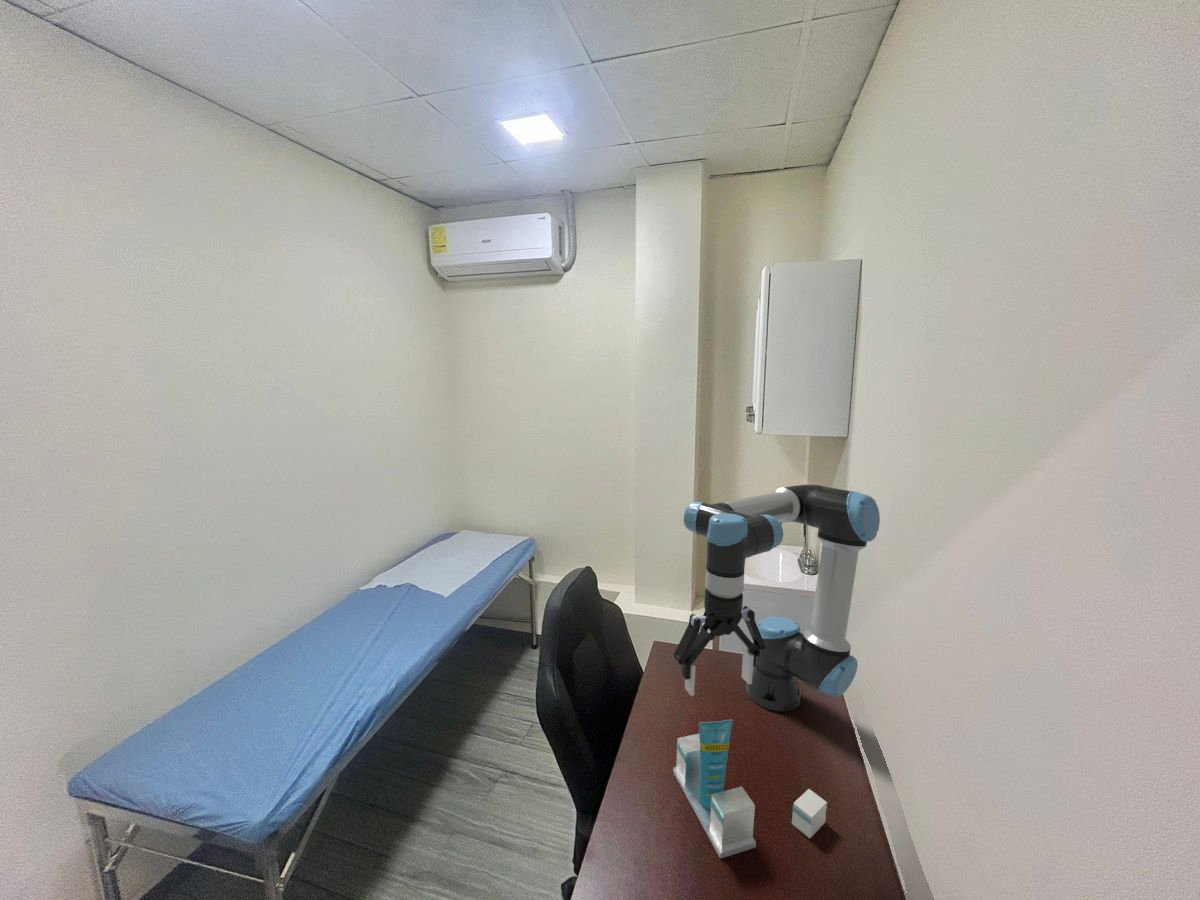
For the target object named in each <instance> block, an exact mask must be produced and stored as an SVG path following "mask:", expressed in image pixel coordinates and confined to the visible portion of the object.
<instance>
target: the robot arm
mask: <svg viewBox="0 0 1200 900" xmlns="http://www.w3.org/2000/svg"><path fill="white" fill-rule="evenodd" d="M880 517H881V516H880V510H879V506H878V504H877V502H876V500H875V499H874V497H872V496H870V495H868V494H865V493H861V492H857V491H854V490H848V489H841V488H835V487H828V486H824V485H819V484H797V485H791V486H790V485H789V486H786V487H784V486H783V487H779V488H776V489H774V490H772V492H771V493H768V494H767V493H766V494H760V495H755V496H751V497H750V496H749V497H745V498H739V499H733V500H729V501H724V502H717V503H712V504H710V503H706V502H704V501H692V502H690V503H689V504H688V505H687V506H686V508H685V510H684V513H683V524H684V526H685V528H686V529H687V530H688V531H690V532H692V533H694V534H696V535H698V536H702V537H706V539H707V541H706V544H707V546H706V564H705V568H706V569H705V582H704V583H705V584H704V585H705V586H704V587H705V589H704V598H703V599H704V601H703V606H704V613H703V615H696V614H695V613H691V614H690V615H689V620H688V624H687V626H686V629H685V631H684V633H683V635H682V637H681V639H680V641H679V643H678V645H677V646H676V649H675V650H674V654H673V658H674V659H675V661H676V662H677V663H678V665H680V666H681V675H682V677H683V678H684V689H685V690H686V692H687V693H688V694H689V695H690V697H694V696H695V686H696V684H695V683H696V682H695V681H696V665H695V663H694V662H695V661H696V660H697V658H698V657H699V656H700V654H702V651H704V649H705V648H706V647H707V645H708V644H709V643H710V642H711V641H713V640H714V639H715V638H716V637H722V636H724V635H726V636H727V635H732V634H733V633H734V634H735V635H736V636H737V637H738V638H739V640H740V641H741V642H742V643H743V645H744V646H745V647H746V648H742V649H743V650H742V662H741V663H742V664H741V676H740V677H741V678H742V679H743V681H745V682H746V685H745V688H746V689H745V690H746V693H747V696H748V697H749V699H751V700H752V701H753V702H754V703H755V704H757V705H758V706H760V707H762V708H764V709H767V710H770V711H774V712H780V713H783V712H784V713H787V712H792V711H794V710H796V709H798V707H799V706H800V703H801V690H800V687H799V683H798V680H800V681H802V682H803V683H805V684H807V685H810V686H811V687H813V688H815V689H816V690H818V691H819V692H820V693H821V692H822V693H823V694H826V695H829V696H831V697H833V698H837V697H840V696H842V695H843V694H845V692H847V690H848V689H849V688H850V686H851V685H852V683H853V681H854V679H855V677H856V674H857V671H858V665H859V664H858V660H857V658H856V657H854V656H853V655H851V647H852V646H851V644H850V643H849V641H848V640H847V639H846V637H847V630H848V624H849V623H848V622H849V619H850V611H851V610H850V609H851V604H852V597H853V591H854V583H855V578H856V571H857V563H858V560H859V559H858V558H859V552H860V551H861V550H863V549H865V548H867V545H868V544H867V543H868V542H872V541H873V540H875V538H876V537H877V535H878V532H879V528H880ZM782 523H785V524H786V523H798V524H802V525H806V526H809V527H813V528H815V529H817V530H818V531H817V538H818V540H819V541H820V542H821V544H822V546H821V553H820V559H819V567H818V573H817V582H816V588H815V593H814V601H813V609H812V613H811V621H810V627H809V628H808V629H806V630H804V631H803V633H802V632H800V631H801V626H800V625H799V623H798V622H796V621H795V620H793V619H790V618H787V617H783V616H781V617H780V616H768V617H765V618H762V619H760V621H758V623H757V622H756V619H755V618H756V617H755V615H756V613H755V611H753V610H752V609H751V608H750V607H748V606H747V605H745V606H743V601H744V599H743V598H744V595H743V592H744V590H745V587H744V586H745V566H746V559H747V558H751V557H753V556H756V555H760V554H763V553H767V552H770V551H772V549H775V548H777V547H778V546H780V544H781V543H782V542H783V539H784V529H783V526H782ZM742 619H743V620H744V623H745V625H746V628H747V629H748V632H749V634H750V636H751V639H752V641H753V642H752V641H751V639H750V638H749V637H748V636H747V634H745V633H744V631H743V629H742V628H741V627H740V626H739V623H740V622H741V621H742ZM708 630H709V631H710V632H709V631H708ZM797 679H798V680H797Z"/></svg>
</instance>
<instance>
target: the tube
mask: <svg viewBox="0 0 1200 900" xmlns="http://www.w3.org/2000/svg"><path fill="white" fill-rule="evenodd" d="M733 723H734V720H733V719H726V720H719V721H707V722H706V721H705V722H704V721H700V722H698V734H699V735H700V794H699V798H700V802H701V803H702V805H703V806H704V807H706V808H708V809H711V806H710V804H711V798H712V794H715V793H719V792H722V791H725V790H724V789H725V781H726V773H727V772H726V771H727V762H728V756H729V748H730V742H731V734H732V727H733Z"/></svg>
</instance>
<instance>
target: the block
mask: <svg viewBox="0 0 1200 900" xmlns="http://www.w3.org/2000/svg"><path fill="white" fill-rule="evenodd" d="M827 806H828V802H827V801H826V800H825V799H823V798H822V797H821V796H819V795H818V794H817V793H816V792H814V791H813V790H811V789H810V788H808V789H807V790H805V791H804V793H803V794H802V795H800V796H799V797H798V798H797V799H796V800H795V801H794V802H793V806H792V816H791V817H792V818H791V824H792V825H793V826H794V827H795V828H796V829H798V830H799V831H800V832H801V833H802V834H803V835H805V837H807V838H808V839H811V838H812V837H814V835H815V834H816V833H817V832H818V831H819V830H820V829H821V828H822V827H823V825H824V824H825V823H826V818H827V817H826V816H827Z"/></svg>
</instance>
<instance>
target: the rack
mask: <svg viewBox="0 0 1200 900" xmlns="http://www.w3.org/2000/svg"><path fill="white" fill-rule="evenodd" d="M675 764H676V766H674V767H673V768H672V772H673V775H674V776H675V778H676V780H677V782H678V784H679V786H680V788H681V789H682V791H683V793H684V794H685V797H686V798H687V800H688V802H689V803H690V806H691V808H692V809H693V811H694V813H695V815H696V816H697V819H698V820H699V822H700V824H701V826H702V827H703V830H704V831H705V833H706V835H707V837H708V839H709V841H710V842H711V844H712V846H713V848H714V851H715V852H716V855H718V857H719V859H723V858H726V857H731V856H733V855H737V854H739V853H743V852H747V851H749V850H751V849H756V848H757V847H756V846H757V842H756V840H755V838H754V837H753V836H754V824H755V808H756V805H755V803H754V801H753V800H752V799H751V798H750V796H749V795H748V793H747V792H746V790H745V788H744V787H743V786H738V787H733V788H731V789H728V790H724V791H722V792H719V793H715V794H712V798H711V804H710V806H711V809H708V808H706V807H704V806H703V805H702V803H701V802H700V798H699V794H700V735H699V733H695V734H691V735H690V734H689V735H686V736H681V737H677V741H676V763H675Z"/></svg>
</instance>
